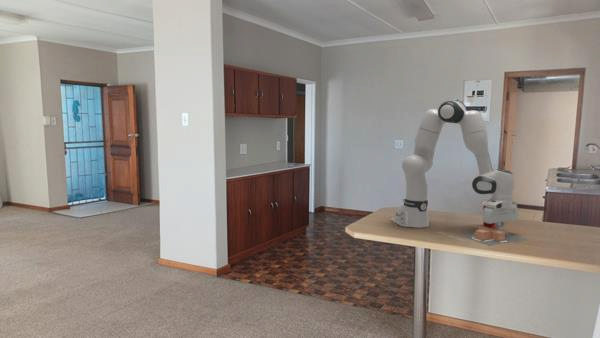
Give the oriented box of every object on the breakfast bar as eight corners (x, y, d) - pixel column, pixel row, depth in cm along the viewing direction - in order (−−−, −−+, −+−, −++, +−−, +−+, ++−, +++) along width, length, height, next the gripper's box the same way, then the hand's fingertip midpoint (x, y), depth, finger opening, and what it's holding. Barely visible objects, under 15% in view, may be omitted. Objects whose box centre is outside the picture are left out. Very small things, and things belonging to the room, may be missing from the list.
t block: (468, 236, 198) (468, 228, 197) (483, 234, 202) (483, 226, 201) (489, 243, 187) (489, 234, 186) (504, 240, 191) (504, 232, 191)
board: (458, 237, 200) (458, 234, 199) (494, 231, 210) (494, 229, 210) (489, 247, 183) (489, 245, 183) (526, 241, 194) (527, 238, 194)
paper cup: (499, 230, 212) (500, 204, 210) (483, 229, 214) (484, 203, 212) (495, 226, 220) (496, 201, 218) (479, 226, 221) (481, 200, 220)
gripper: (511, 200, 204) (508, 226, 206) (481, 203, 196) (479, 230, 197) (522, 202, 198) (520, 230, 200) (492, 205, 190) (490, 234, 192)
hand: (499, 230), depth 199 cm, fingers closed
